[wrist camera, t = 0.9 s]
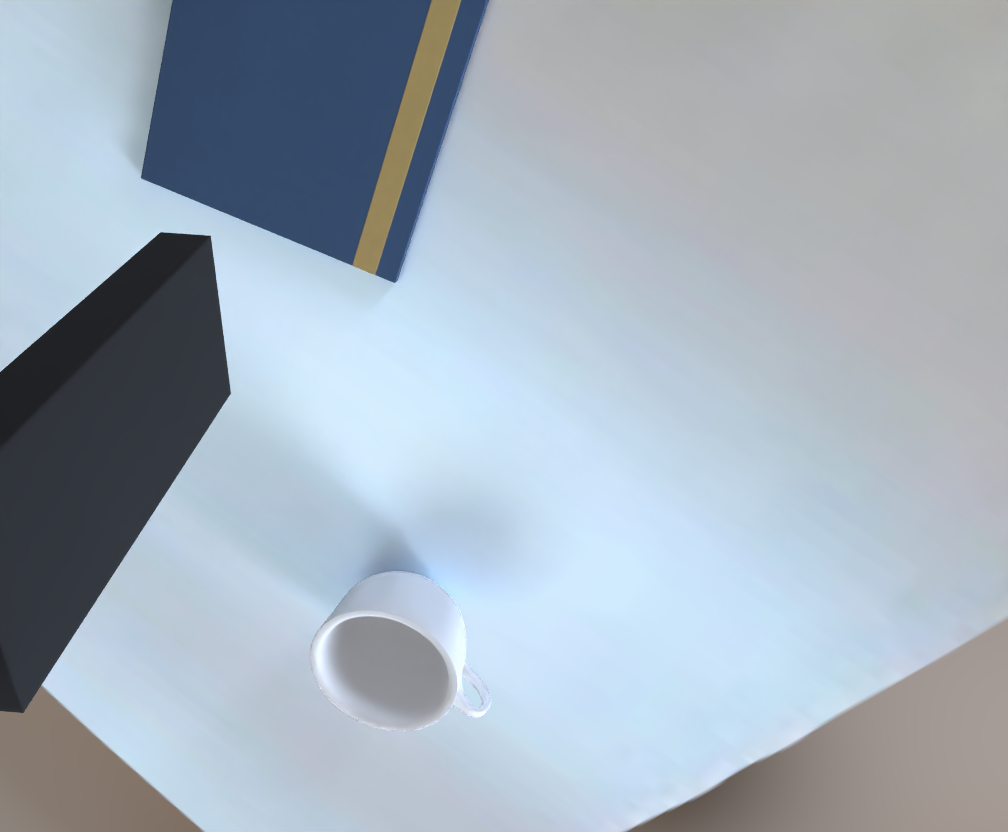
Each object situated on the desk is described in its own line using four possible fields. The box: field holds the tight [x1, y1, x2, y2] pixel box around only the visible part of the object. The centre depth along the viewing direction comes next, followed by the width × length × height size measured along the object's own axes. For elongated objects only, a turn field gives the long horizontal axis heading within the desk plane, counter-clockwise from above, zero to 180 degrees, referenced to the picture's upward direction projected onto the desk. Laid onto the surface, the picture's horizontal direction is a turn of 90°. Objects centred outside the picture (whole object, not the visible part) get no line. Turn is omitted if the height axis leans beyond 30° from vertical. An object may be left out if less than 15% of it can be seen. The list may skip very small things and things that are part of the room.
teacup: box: [310, 571, 491, 731], centre depth 47 cm, size 10×8×5 cm
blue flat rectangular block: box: [141, 0, 489, 283], centre depth 37 cm, size 20×13×1 cm, turn 159°
